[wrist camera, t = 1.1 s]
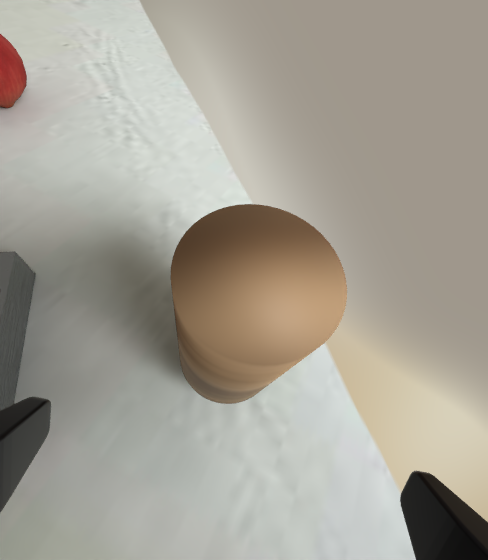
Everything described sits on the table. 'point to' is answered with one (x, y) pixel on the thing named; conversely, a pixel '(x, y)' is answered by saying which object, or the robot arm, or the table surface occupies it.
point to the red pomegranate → (10, 74)
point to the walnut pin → (252, 298)
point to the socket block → (12, 320)
